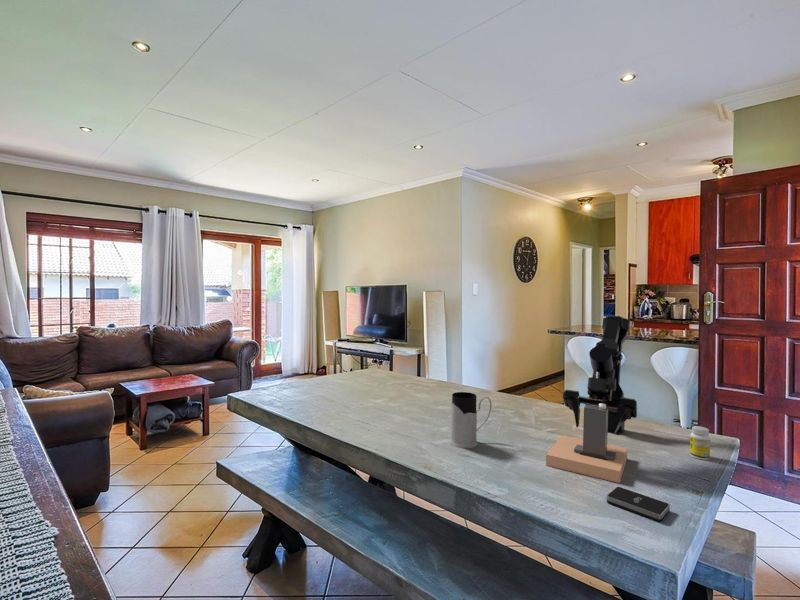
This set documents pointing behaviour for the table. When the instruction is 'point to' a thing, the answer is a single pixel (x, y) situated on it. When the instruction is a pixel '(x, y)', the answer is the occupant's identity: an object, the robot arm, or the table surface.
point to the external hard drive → (638, 504)
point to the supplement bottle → (700, 443)
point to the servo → (595, 433)
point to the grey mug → (465, 419)
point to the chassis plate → (586, 460)
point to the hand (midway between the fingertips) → (595, 429)
